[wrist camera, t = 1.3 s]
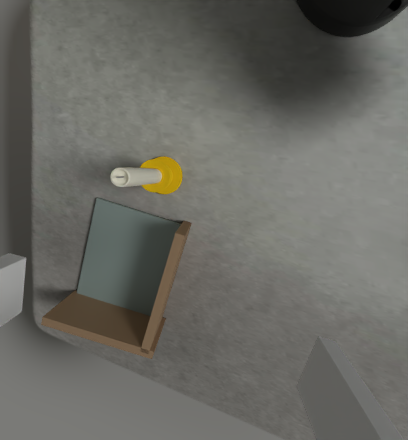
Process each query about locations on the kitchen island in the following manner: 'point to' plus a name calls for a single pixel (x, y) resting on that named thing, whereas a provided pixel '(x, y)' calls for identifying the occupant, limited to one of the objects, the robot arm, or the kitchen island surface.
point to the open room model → (123, 279)
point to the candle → (150, 175)
